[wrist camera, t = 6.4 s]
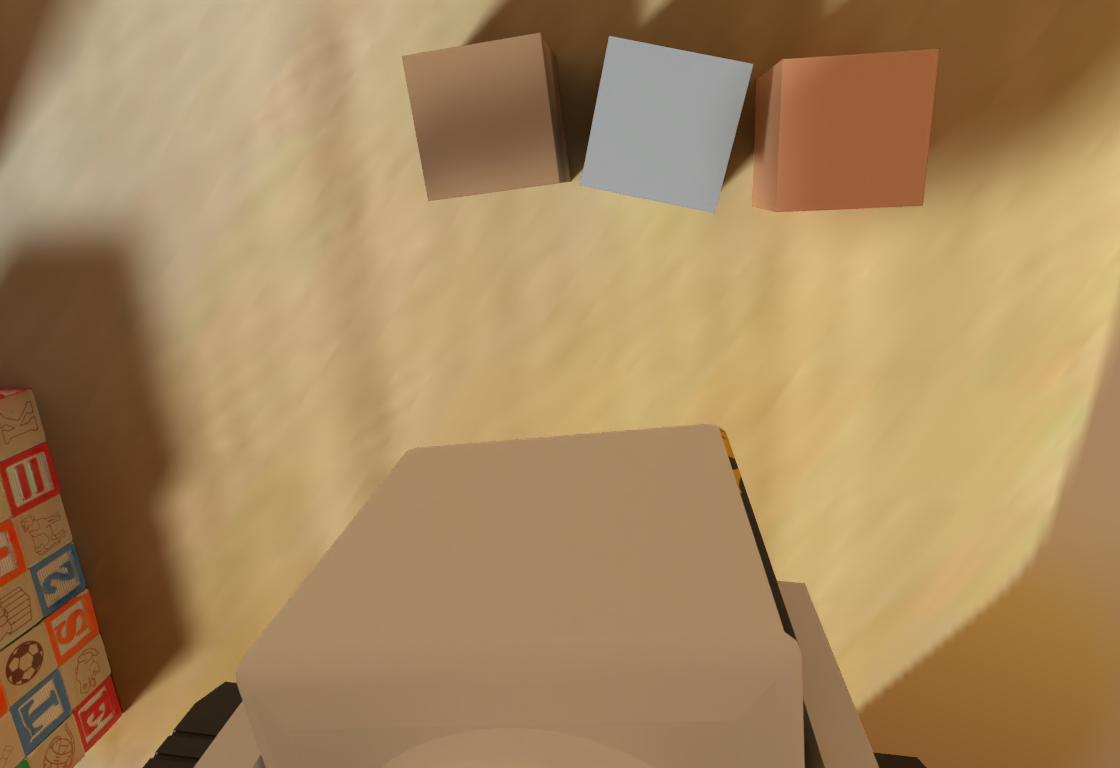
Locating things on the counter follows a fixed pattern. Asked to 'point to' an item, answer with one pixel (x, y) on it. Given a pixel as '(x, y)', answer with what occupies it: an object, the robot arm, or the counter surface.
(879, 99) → the terracotta cube
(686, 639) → the medicine bottle
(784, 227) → the counter surface
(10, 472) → the stack of blocks
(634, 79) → the slate blue cube
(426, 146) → the walnut cube
